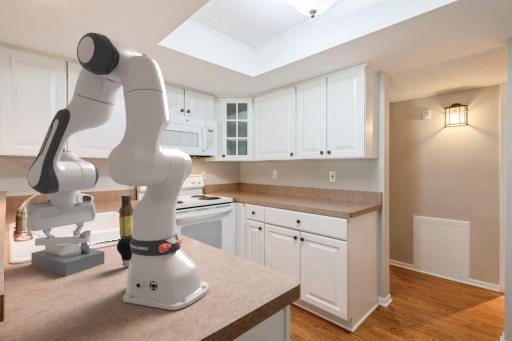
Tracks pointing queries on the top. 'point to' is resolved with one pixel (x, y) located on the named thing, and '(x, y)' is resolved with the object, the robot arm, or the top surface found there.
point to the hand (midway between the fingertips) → (64, 238)
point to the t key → (67, 241)
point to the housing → (67, 261)
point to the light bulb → (125, 250)
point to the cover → (61, 248)
